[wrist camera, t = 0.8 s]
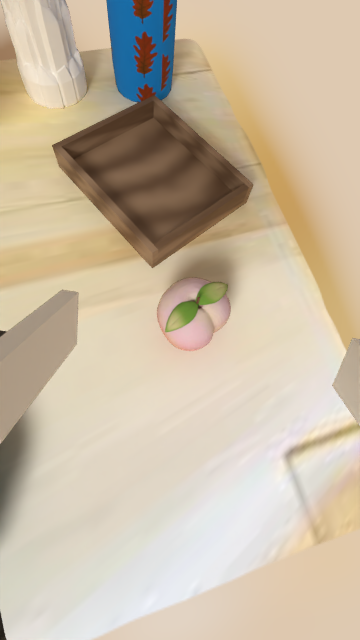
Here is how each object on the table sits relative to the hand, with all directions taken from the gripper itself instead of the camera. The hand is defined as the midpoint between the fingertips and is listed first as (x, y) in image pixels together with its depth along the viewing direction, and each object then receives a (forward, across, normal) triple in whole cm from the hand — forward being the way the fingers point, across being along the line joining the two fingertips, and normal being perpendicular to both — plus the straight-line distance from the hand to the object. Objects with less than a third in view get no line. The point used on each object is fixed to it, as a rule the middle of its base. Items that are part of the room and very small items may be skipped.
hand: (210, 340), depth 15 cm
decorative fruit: (+26, 0, -11) cm, 29 cm away
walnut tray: (+42, -9, +6) cm, 44 cm away
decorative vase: (+55, -30, +19) cm, 65 cm away
